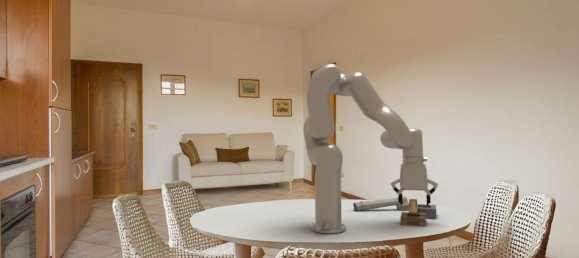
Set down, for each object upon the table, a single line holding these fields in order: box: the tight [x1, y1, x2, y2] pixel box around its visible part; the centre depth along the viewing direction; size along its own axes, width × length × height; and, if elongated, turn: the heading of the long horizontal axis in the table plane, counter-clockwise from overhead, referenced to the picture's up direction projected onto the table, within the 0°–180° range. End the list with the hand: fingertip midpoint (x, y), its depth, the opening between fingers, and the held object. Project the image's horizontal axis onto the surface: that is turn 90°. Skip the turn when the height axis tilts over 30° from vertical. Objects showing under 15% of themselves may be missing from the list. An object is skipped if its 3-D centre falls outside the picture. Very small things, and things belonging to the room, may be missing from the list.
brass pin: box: [408, 198, 418, 217], centre depth 142 cm, size 3×3×9 cm
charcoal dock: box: [417, 203, 437, 220], centre depth 153 cm, size 9×9×4 cm
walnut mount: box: [400, 211, 427, 227], centre depth 142 cm, size 9×9×3 cm
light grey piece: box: [353, 195, 409, 212], centre depth 166 cm, size 5×7×25 cm
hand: (414, 204), depth 142 cm, fingers open, 9 cm apart
